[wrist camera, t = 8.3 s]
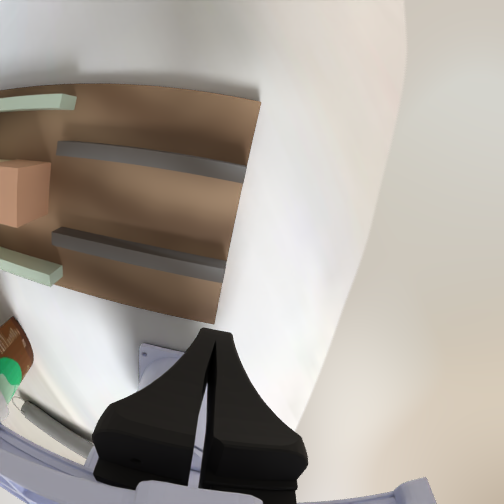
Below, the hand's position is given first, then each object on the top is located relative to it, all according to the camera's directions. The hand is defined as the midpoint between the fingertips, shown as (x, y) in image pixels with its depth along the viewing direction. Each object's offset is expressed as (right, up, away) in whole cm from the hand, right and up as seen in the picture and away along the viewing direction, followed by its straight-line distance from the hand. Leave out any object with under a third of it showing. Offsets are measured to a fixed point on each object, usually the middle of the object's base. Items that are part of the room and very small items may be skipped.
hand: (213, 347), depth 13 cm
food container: (-25, -8, +12) cm, 29 cm away
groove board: (-11, +9, +7) cm, 16 cm away
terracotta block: (-15, +9, +5) cm, 19 cm away
